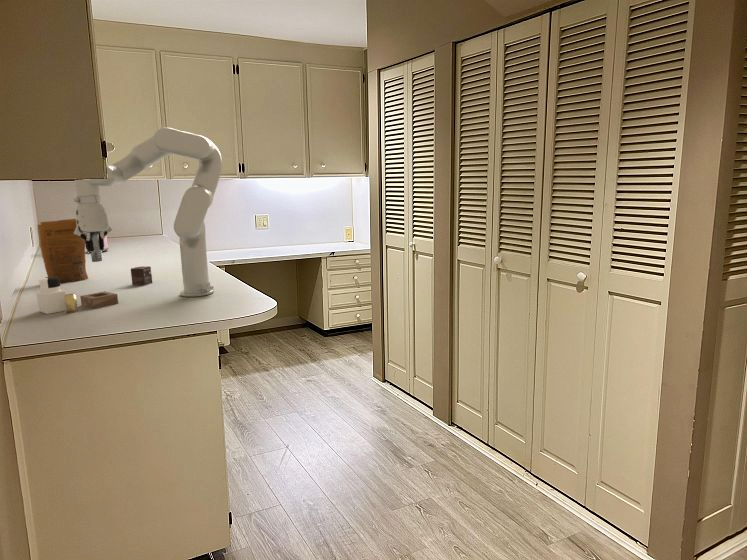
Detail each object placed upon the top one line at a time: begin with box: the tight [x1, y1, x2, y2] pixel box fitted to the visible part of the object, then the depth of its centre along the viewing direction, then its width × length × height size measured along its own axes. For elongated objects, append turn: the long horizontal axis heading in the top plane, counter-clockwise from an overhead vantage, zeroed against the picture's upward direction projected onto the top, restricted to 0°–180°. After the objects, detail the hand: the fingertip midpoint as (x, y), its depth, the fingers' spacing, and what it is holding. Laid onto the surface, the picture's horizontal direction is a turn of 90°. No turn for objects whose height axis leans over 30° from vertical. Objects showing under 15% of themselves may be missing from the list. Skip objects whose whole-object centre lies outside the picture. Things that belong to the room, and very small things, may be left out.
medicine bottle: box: [36, 276, 67, 315], centre depth 191 cm, size 7×7×12 cm
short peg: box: [64, 293, 79, 314], centre depth 189 cm, size 3×3×6 cm
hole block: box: [80, 291, 119, 309], centre depth 200 cm, size 9×9×4 cm
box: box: [130, 265, 153, 286], centre depth 236 cm, size 6×6×7 cm
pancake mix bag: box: [36, 218, 89, 284], centre depth 245 cm, size 7×19×28 cm, turn 127°
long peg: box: [90, 231, 103, 263], centre depth 204 cm, size 3×3×12 cm
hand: (95, 249), depth 204 cm, fingers closed on long peg, 3 cm apart
